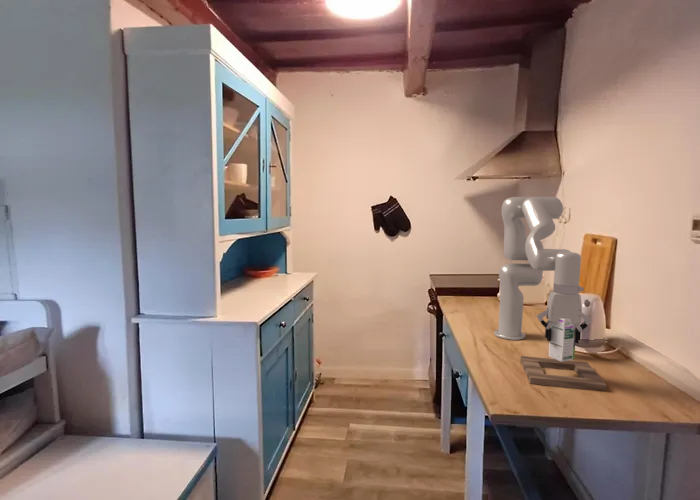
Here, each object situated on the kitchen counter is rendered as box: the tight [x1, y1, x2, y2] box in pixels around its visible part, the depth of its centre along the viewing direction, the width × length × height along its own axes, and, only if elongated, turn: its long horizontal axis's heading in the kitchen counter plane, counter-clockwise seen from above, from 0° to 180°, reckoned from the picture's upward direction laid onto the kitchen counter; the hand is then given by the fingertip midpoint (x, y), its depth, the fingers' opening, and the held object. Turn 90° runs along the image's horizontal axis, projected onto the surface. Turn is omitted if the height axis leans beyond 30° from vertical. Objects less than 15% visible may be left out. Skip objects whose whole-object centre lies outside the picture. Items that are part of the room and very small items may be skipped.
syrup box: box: [548, 317, 576, 362], centre depth 146 cm, size 6×6×14 cm
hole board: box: [520, 355, 607, 392], centre depth 147 cm, size 20×22×2 cm
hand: (562, 340), depth 146 cm, fingers closed on syrup box, 8 cm apart
